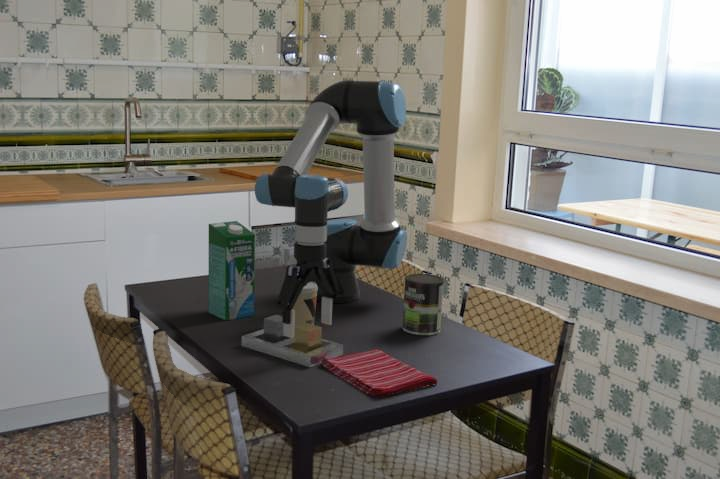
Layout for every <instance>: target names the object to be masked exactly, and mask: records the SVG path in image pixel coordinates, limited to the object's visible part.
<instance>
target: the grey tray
mask: <svg viewBox="0 0 720 479" xmlns="http://www.w3.org/2000/svg"><path fill="white" fill-rule="evenodd" d="M294 342H295V331H294V338H289V339H286V340H283V341H280V342H277V343H270V342H267V341H264V328H263V329H259V330H256V331H253V332H250V333H246V334H244V335H241V347H243V348H247V349H250V350H253V351H257V352H260V353H263V354H267V355H270V356H272V357H276V358H279V359H282V360H285V361H288V362H292V363H295V364H298V365H301V366H305V367H307V368H313V367H315V366H318V365H320V363H322V359H323V358H336V357H341V356H344V344H343V343H342V344H341V343H339V342H335V341H331V340H328V339H325V338H323V337H321V348H318V349H316V350H313V351H310V352H308V353H303V352H300V351H297V350H294Z"/></svg>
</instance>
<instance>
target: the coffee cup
mask: <svg viewBox="0 0 720 479" xmlns="http://www.w3.org/2000/svg"><path fill="white" fill-rule="evenodd" d="M317 290H318V287H317V284H316V283H314V282H310V283H307V285H306V286H304V287H303V289H302V291H301V293H300V295H299V297H298V299H297V301H296V303H295V305H294V307H293V310H295V327H297V326H300V325H303V324H307V323H309V324H312V325H315V320H316V319H315V316H316V310H317V309H316V307H317V300H316V299H317ZM288 305H289V304H288ZM294 331H295V330H294Z"/></svg>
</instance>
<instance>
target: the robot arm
mask: <svg viewBox="0 0 720 479" xmlns="http://www.w3.org/2000/svg"><path fill="white" fill-rule="evenodd" d="M305 114H306V117H305V119H304V121H303V122H302V124H301V126H300V127H299V129H298V131H297V132H296V134H295V136H294V137H293V139H292V141H291V142H290V143H289V145H288V147H287V149H286V151H285V152H284V154H283V155H282V157H281V158H280V160H279V162H278V164H277V166H276V167H275V169H274V170H273V172H272V173H271V174H270V173H265V174H263V173H261V175H260V174H259V176H257V178H256V180H255V184H254V196H255V199H256V201H257V202H258V203H260V204H262V205H266V206H272V207H283V208H284V207H285V208H294V241H295V243H294V244H293V258H294V259H295V260H296V263H295V266H291V265H288V266H286V270H285V277H284V279H283V283H282V285H281V288H280V291H279V294H278V297H277V300H276V303H275V307H276V308H278V309H280V310H282V316H283V323H284V331H283V336H287V337H290V338H294V330H295V310H293V307H294V305H295V303H296V301H297V299H298V297H299V295H300V293H301V291H302V289H303V287H304V286H306V285H307V283H310V282H314V283H316V284H317V287H318V290H317V299H316V302H317V301H318V302H320V303H321V309H320V310H321V312H320V313H321V315H320V318H321V319H320V323H321V324H324V325H327V326H328V325H329V326H330V325H331V326H332V322H333V320H332V319H333V309H334V304H342V303H343V304H345V303H351V302H355V301H357V300H359V299H360V297H361V295H360V294H361V289H360V287H359V283H358V278H357V276H356V266H360V267H366V268H367V267H368V268H375V269H376V268H377V269H381V270H384V269H385V270H386V269H387V270H395V269H398V267H399V266H400V265H401V263H402V261H403V259H404V257H405V252H406V249H407V245H408V233H407V231H406V230H404V229H401V222H400V220H399V219H397V218H396V217H395V216H396V214H395V212H396V210H395V208H396V207H395V154H394V152H395V149H394V146H395V145H394V143H395V142H394V140H395V139H394V137H395V136H396V135H397V134H398V133H399V132H400V127H402V126H403V125H404V124H405V121H406V114H407V103H406V98H405V95H404V91H403V89H402V88H401V86H399V85H398V84H397V83H395V82H386V81H376V80H375V81H374V80H372V81H371V80H368V81H367V80H366V81H365V80H342V81H338V82H336V83H333V84H331V85H329V86H327V87H326V88H324V89H323V90H322V91H321V92H319V93H318V94H317V95H316V96H315V97H314V98H313V100H312V101H311V102H310V104H309V105H308V107H307V109H306V111H305ZM341 124H352V125H356V133H357V134H358V135H359V136H361V138H362V161H363V165H362V166H363V170H362V171H363V194H364V195H363V196H364V198H363V200H364V201H363V202H364V204H363V205H364V218H362V219H361V221H360V222H359V225H358V221H357V220H356V219H354V218H353V219H352V218H339V219H338V218H337V219H331V220H330V219H329V220H328V214H329V213H328V212H332V211H335V210H337V209H339V208H340V207H342V206H344V204H345V203H346V202H347V200H348V198H349V190H348V187H347V184H346V183H345V182H344V181H343V180H341V178H337V177H327V176H325V175H320V174H308V173H309V171H310V169H311V167H312V166H313V165H314V162H315V161H316V159H317V157H318V156H319V153H320V151H321V150H322V148H323V146H324V144H325V142H327V139H328V137H329V136H330V134H331V132H333V131H335V130H337V129H338V127H339V126H340V125H341ZM288 304H289V305H288Z"/></svg>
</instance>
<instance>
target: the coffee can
mask: <svg viewBox="0 0 720 479" xmlns="http://www.w3.org/2000/svg"><path fill="white" fill-rule="evenodd" d="M444 281H445V279H444V278H443V277H442V276H439V275H434V274H429V273H411V274H407V275H406V276H404V296H403V297H404V300H403V311H402V312H403V316H402V327H401V328H402V330H403V331H404V332H406V333H408V334H411V335H415V336H416V335H417V336H434V335H437V334H440V332H441V326H442V323H441V322H442V308H443V295H444V294H443V293H444V283H445V282H444Z"/></svg>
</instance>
